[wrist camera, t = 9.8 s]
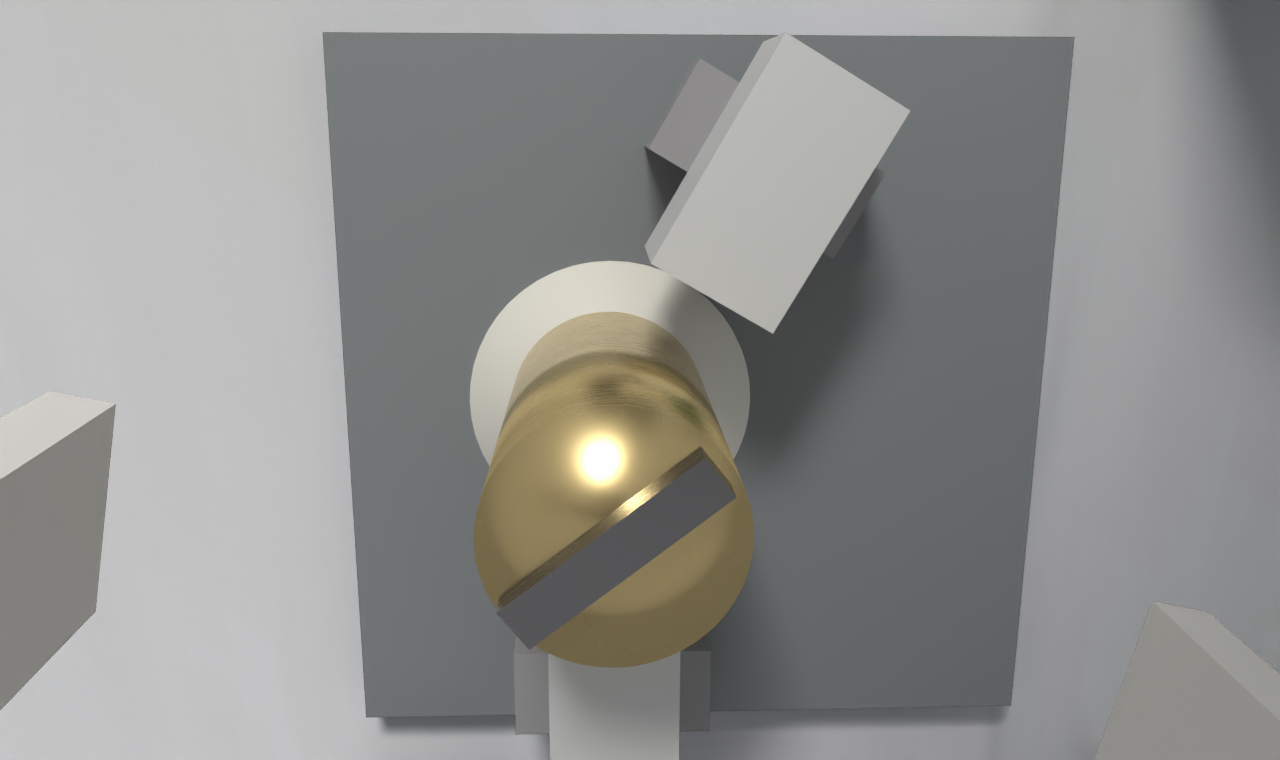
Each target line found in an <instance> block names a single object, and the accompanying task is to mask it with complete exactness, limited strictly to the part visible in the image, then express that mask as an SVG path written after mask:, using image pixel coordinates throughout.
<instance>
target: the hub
mask: <svg viewBox="0 0 1280 760" xmlns="http://www.w3.org/2000/svg"><path fill="white" fill-rule="evenodd" d="M753 544H754V527H753V517H752V512H751V506H750V503H749V500H748V497H747V494H746V491H745V488H744V485H743V483H742V480H741V478H740V475H739V473H738V470H737V468H736V465H735V463H734V460H733V458H732V455H731V452H730V450H729V447H728V445H727V442H726V440H725V437H724V435H723V432H722V430H721V427H720V425H719V422H718V420H717V417H716V415H715V412H714V410H713V407H712V405H711V402H710V400H709V397H708V395H707V392H706V389H705V387H704V384H703V382H702V379H701V377H700V374H699V372H698V369H697V367H696V365H695V363H694V361H693V359H692V358H691V356H690V355H689V353H688V352H687V350H686V349H685V348H684V346H683V345H682V344H681V343H680V342H679V341H678V340H677V339H676V338H675V337H674V336H673V335H672V334H670V333H669V332H668V331H667V330H665V329H664V328H662V327H661V326H659V325H657V324H656V323H654V322H651V321H649V320H647V319H645V318H642V317H639V316H636V315H633V314H627V313H622V312H595V313H590V314H585V315H581V316H578V317H575V318H572V319H570V320H568V321H566V322H564V323H562V324H560V325H558V326H556V327H555V328H553V329H552V330H550V331H549V332H548V333H546V334H545V335H544V336H543V337H542V338H541V339H540V340H539V341H538V342H537V343H536V344H535V345H534V346H533V348H532V349H531V350H530V351H529V353H528V354H527V356H526V357H525V359H524V360H523V363H522V365H521V367H520V369H519V371H518V374H517V377H516V380H515V383H514V387H513V390H512V393H511V397H510V400H509V403H508V407H507V410H506V414H505V417H504V420H503V424H502V427H501V430H500V434H499V437H498V440H497V444H496V447H495V451H494V454H493V457H492V461H491V464H490V467H489V471H488V474H487V477H486V481H485V484H484V488H483V491H482V494H481V498H480V501H479V504H478V508H477V513H476V519H475V525H474V550H475V559H476V564H477V567H478V571H479V575H480V578H481V581H482V583H483V586H484V588H485V590H486V593H487V595H488V596H489V598H490V600H491V601H492V603H493V605H494V607H495V608H496V609H497V611H496V613H497V615H498V616H499V617H500V618H501V619H502V620H503V621H504V622H505V624H506V625H507V626H508V627H509V628H510V629H511V630H512V631H513V632H514V634H515V635H516V636H517V637H518V638H519V639H520V640H521V641H522V643H523V644H524V645H525V646H526V647H527V648H528V649H529V650H530V649H531V648H533V647H534V646H536V647H538V648H540V649H542V650H543V651H545V652H547V653H549V654H551V655H554V656H556V657H558V658H561V659H563V660H567V661H570V662H574V663H577V664H581V665H587V666H594V667H607V668H620V667H632V666H638V665H643V664H648V663H652V662H655V661H658V660H661V659H664V658H667V657H669V656H671V655H674V654H676V653H678V652H680V651H682V650H684V649H686V648H687V647H689V646H690V645H692V644H694V643H695V642H697V641H698V640H700V639H701V638H702V637H703V636H705V635H706V634H707V633H708V632H709V631H711V630H712V629H713V628H714V627H715V626H716V625H717V624H718V623H719V621H720V620H721V619H722V618H723V617H724V616H725V615H726V613H727V612H728V611H729V609H730V608H731V606H732V605H733V604H734V602H735V600H736V599H737V597H738V595H739V593H740V591H741V589H742V588H743V585H744V582H745V580H746V577H747V575H748V572H749V568H750V564H751V559H752V555H753Z"/></svg>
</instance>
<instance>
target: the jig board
mask: <svg viewBox="0 0 1280 760" xmlns="http://www.w3.org/2000/svg"><path fill="white" fill-rule="evenodd" d="M323 46H324V62H325V77H326V93H327V109H328V124H329V140H330V156H331V171H332V187H333V203H334V218H335V234H336V250H337V265H338V281H339V297H340V312H341V328H342V344H343V359H344V375H345V391H346V406H347V422H348V438H349V453H350V469H351V485H352V500H353V516H354V532H355V548H356V563H357V579H358V595H359V610H360V626H361V642H362V657H363V673H364V689H365V704H366V717H417V716H472V715H515V727H516V734H550V760H679V731H709V717H710V711H743V710H797V709H851V708H905V707H960V706H1011V699H1012V689H1013V678H1014V668H1015V657H1016V647H1017V636H1018V626H1019V615H1020V605H1021V594H1022V583H1023V573H1024V562H1025V552H1026V541H1027V531H1028V520H1029V510H1030V499H1031V489H1032V478H1033V468H1034V457H1035V447H1036V436H1037V426H1038V415H1039V405H1040V394H1041V384H1042V373H1043V363H1044V352H1045V341H1046V331H1047V320H1048V310H1049V299H1050V289H1051V278H1052V268H1053V257H1054V247H1055V236H1056V226H1057V215H1058V205H1059V194H1060V184H1061V173H1062V163H1063V152H1064V142H1065V131H1066V121H1067V110H1068V99H1069V89H1070V78H1071V68H1072V57H1073V47H1074V37H986V36H827V35H789V34H788V33H786V32H785V33H783V34H781V35H668V34H509V33H350V32H323ZM595 312H622V313H627V314H633V315H636V316H639V317H642V318H645V319H647V320H649V321H651V322H654V323H656V324H657V325H659V326H661V327H662V328H664V329H665V330H667V331H668V332H669V333H670V334H672V335H673V336H674V337H675V338H676V339H677V340H678V341H679V342H680V343H681V344H682V345H683V346H684V348H685V349H686V350H687V352H688V353H689V355H690V356H691V358H692V359H693V361H694V363H695V365H696V367H697V369H698V372H699V374H700V377H701V379H702V382H703V384H704V387H705V389H706V392H707V395H708V397H709V400H710V402H711V405H712V407H713V410H714V412H715V415H716V417H717V420H718V422H719V425H720V427H721V430H722V432H723V435H724V437H725V440H726V442H727V445H728V447H729V450H730V452H731V455H732V458H733V460H734V463H735V465H736V468H737V470H738V473H739V475H740V478H741V480H742V483H743V485H744V488H745V491H746V494H747V497H748V500H749V503H750V506H751V512H752V517H753V527H754V544H753V555H752V559H751V564H750V568H749V572H748V575H747V577H746V580H745V582H744V585H743V588H742V589H741V591H740V593H739V595H738V597H737V599H736V600H735V602H734V604H733V605H732V606H731V608H730V609H729V611H728V612H727V613H726V615H725V616H724V617H723V618H722V619H721V620H720V621H719V623H718V624H717V625H716V626H715V627H714V628H713V629H712V630H711V631H709V632H708V633H707V634H706V635H705V636H703V637H702V638H701V639H700V640H698V641H697V642H695V643H694V644H692V645H690V646H689V647H687V648H686V649H684V650H682V651H680V652H678V653H676V654H674V655H671V656H669V657H667V658H664V659H661V660H658V661H655V662H652V663H648V664H643V665H638V666H632V667H620V668H607V667H594V666H587V665H581V664H577V663H574V662H570V661H567V660H563V659H561V658H558V657H556V656H554V655H551V654H549V653H547V652H545V651H543V650H542V649H540V648H538V647H536V646H534V647H533V648H531V649H530V650H529V649H528V648H527V647H526V646H525V645H524V644H523V643H522V641H521V640H520V639H519V638H518V637H517V636H516V635H515V634H514V632H513V631H512V630H511V629H510V628H509V627H508V626H507V625H506V624H505V622H504V621H503V620H502V619H501V618H500V617H499V616H498V615H497V613H496V611H497V609H496V608H495V607H494V605H493V603H492V601H491V600H490V598H489V596H488V595H487V593H486V590H485V588H484V586H483V583H482V581H481V578H480V575H479V571H478V567H477V564H476V559H475V550H474V525H475V519H476V513H477V508H478V504H479V501H480V498H481V494H482V491H483V488H484V484H485V481H486V477H487V474H488V471H489V467H490V464H491V461H492V457H493V454H494V451H495V447H496V444H497V440H498V437H499V434H500V430H501V427H502V424H503V420H504V417H505V414H506V410H507V407H508V403H509V400H510V397H511V393H512V390H513V387H514V383H515V380H516V377H517V374H518V371H519V369H520V367H521V365H522V363H523V360H524V359H525V357H526V356H527V354H528V353H529V351H530V350H531V349H532V348H533V346H534V345H535V344H536V343H537V342H538V341H539V340H540V339H541V338H542V337H543V336H544V335H545V334H546V333H548V332H549V331H550V330H552V329H553V328H555V327H556V326H558V325H560V324H562V323H564V322H566V321H568V320H570V319H572V318H575V317H578V316H581V315H585V314H590V313H595Z"/></svg>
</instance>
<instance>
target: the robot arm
mask: <svg viewBox="0 0 1280 760" xmlns="http://www.w3.org/2000/svg"><path fill="white" fill-rule="evenodd" d="M115 406H116V404H114V403H109V402H103V401H98V400H93V399H88V398H82V397H77V396H72V395H67V394H61V393H56V392H51V391H49V392H47V393H45V394H44V395H42V396H40V397H38V398H36V399H35V400H33V401H31V402H29V403H27V404H25V405H24V406H22V407H20V408H18V409H16V410H15V411H13V412H11V413H9V414H7V415H6V416H4V417H2V418H0V710H1V709H2V708H3V707H4V706H5V705H6V704H7V703H8V702H9V701H10V700H11V699H12V698H13V697H14V696H15V695H16V694H17V693H18V691H19V690H20V689H21V688H22V687H23V686H24V685H25V684H26V683H27V682H28V681H29V680H30V679H31V678H32V677H33V676H34V675H35V674H36V673H37V672H38V671H39V670H40V669H41V668H42V667H43V666H44V664H45V663H46V662H47V661H48V660H49V659H50V658H51V657H52V656H53V655H54V654H55V653H56V652H57V651H58V650H59V649H60V648H61V647H62V646H63V645H64V644H65V643H66V642H67V641H68V640H69V639H70V637H71V636H72V635H73V634H74V633H75V632H76V631H77V630H78V629H79V628H80V627H81V626H82V625H83V624H84V623H85V622H86V621H87V620H88V619H89V618H90V617H91V616H92V615H93V614H94V613H95V611H96V602H97V591H98V581H99V571H100V560H101V550H102V540H103V529H104V519H105V509H106V499H107V488H108V478H109V468H110V457H111V447H112V437H113V426H114V416H115ZM1094 760H1280V674H1279V673H1278V672H1276V671H1275V670H1274V669H1273V668H1272V667H1271V666H1270V665H1268V664H1267V663H1266V662H1265V661H1264V660H1263V659H1262V658H1260V657H1259V656H1258V655H1257V654H1256V653H1255V652H1253V651H1252V650H1251V649H1250V648H1249V647H1248V646H1247V645H1245V644H1244V643H1243V642H1242V641H1241V640H1240V639H1239V638H1237V637H1236V636H1235V635H1234V634H1233V633H1232V632H1231V631H1229V630H1228V629H1227V628H1226V627H1225V626H1224V625H1222V624H1221V623H1220V622H1219V621H1218V620H1217V619H1216V618H1214V617H1213V616H1212V615H1211V614H1210V613H1209V612H1206V611H1201V610H1195V609H1190V608H1185V607H1180V606H1174V605H1169V604H1164V603H1159V602H1152V604H1151V607H1150V610H1149V613H1148V615H1147V618H1146V621H1145V623H1144V626H1143V629H1142V632H1141V634H1140V637H1139V640H1138V642H1137V645H1136V648H1135V651H1134V653H1133V656H1132V659H1131V661H1130V664H1129V667H1128V670H1127V672H1126V675H1125V678H1124V680H1123V683H1122V686H1121V688H1120V691H1119V694H1118V697H1117V699H1116V702H1115V705H1114V707H1113V710H1112V713H1111V716H1110V718H1109V721H1108V724H1107V726H1106V729H1105V732H1104V735H1103V737H1102V740H1101V743H1100V745H1099V748H1098V751H1097V753H1096V756H1095V759H1094Z"/></svg>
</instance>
